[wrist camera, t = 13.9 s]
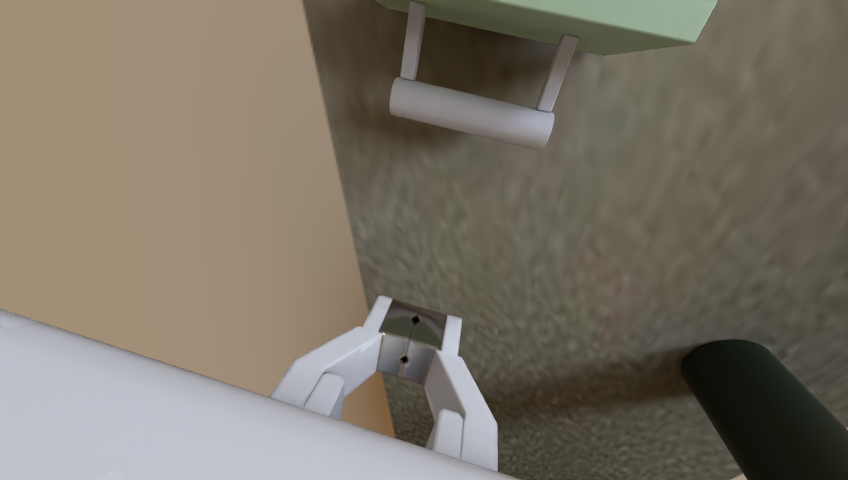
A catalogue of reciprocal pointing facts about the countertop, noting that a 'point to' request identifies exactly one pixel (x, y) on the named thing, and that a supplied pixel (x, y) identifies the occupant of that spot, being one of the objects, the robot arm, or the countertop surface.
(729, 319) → the countertop surface
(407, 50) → the drawer
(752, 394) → the wine bottle
